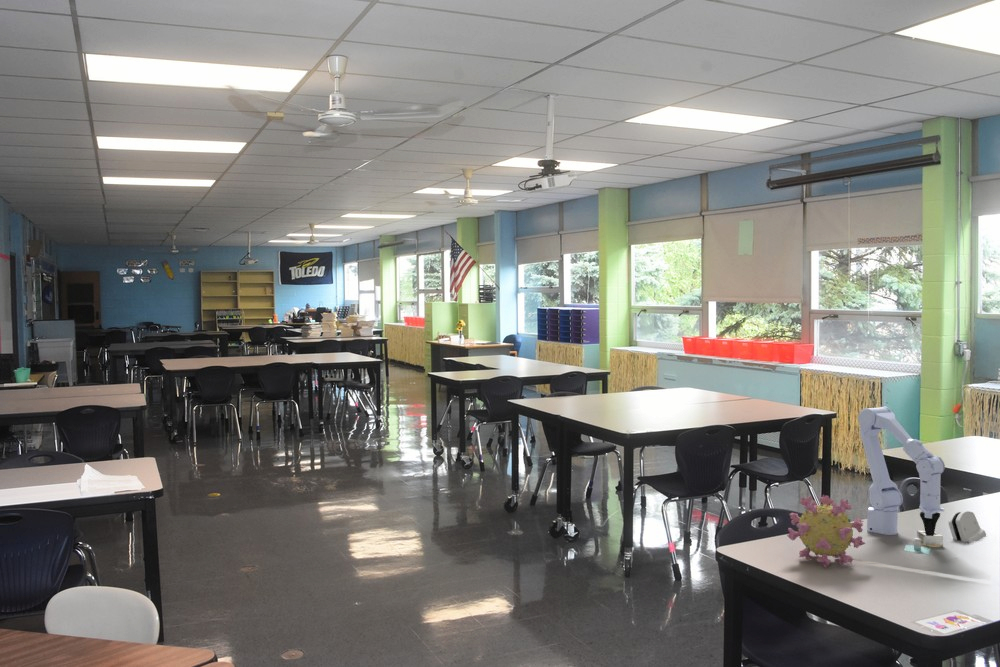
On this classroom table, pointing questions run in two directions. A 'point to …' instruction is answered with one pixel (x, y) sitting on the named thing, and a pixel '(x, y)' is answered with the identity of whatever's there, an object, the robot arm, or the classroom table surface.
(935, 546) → the hub
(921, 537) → the hollow square metal tube
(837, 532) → the educational model
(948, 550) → the classroom table surface
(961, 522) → the hinge
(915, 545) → the stand
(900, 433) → the robot arm
